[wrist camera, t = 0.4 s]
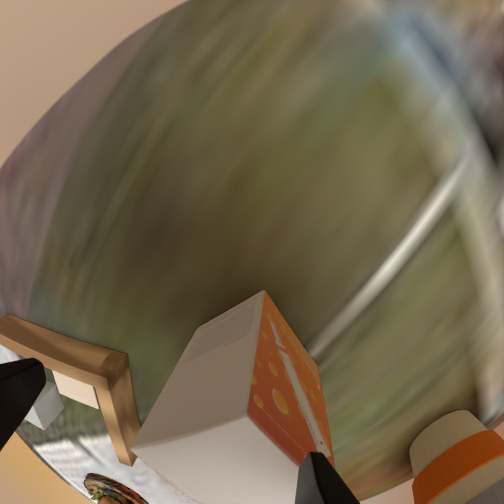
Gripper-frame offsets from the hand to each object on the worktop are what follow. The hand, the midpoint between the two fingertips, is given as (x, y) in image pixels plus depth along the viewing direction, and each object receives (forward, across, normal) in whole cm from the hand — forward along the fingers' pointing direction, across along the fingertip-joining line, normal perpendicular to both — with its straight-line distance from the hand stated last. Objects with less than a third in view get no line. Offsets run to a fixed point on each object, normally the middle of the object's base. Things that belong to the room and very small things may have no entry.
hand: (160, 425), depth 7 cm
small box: (+14, -3, +4) cm, 15 cm away
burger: (+15, +12, +43) cm, 47 cm away
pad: (+14, +15, +16) cm, 26 cm away
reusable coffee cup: (+15, -28, +14) cm, 34 cm away
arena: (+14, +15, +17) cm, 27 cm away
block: (+14, +21, +21) cm, 33 cm away
